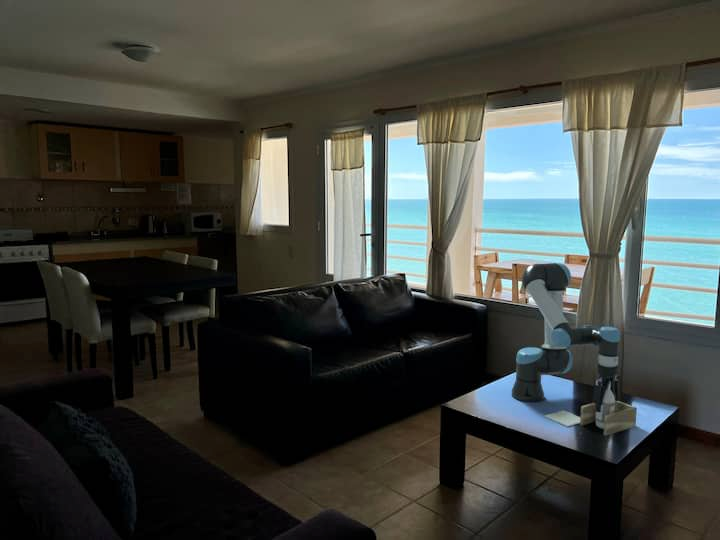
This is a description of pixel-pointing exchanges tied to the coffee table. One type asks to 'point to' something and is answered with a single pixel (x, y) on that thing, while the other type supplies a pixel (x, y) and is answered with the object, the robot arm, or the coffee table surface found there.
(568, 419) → the tile
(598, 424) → the bath foam
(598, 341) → the robot arm
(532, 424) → the coffee table surface
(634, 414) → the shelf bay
